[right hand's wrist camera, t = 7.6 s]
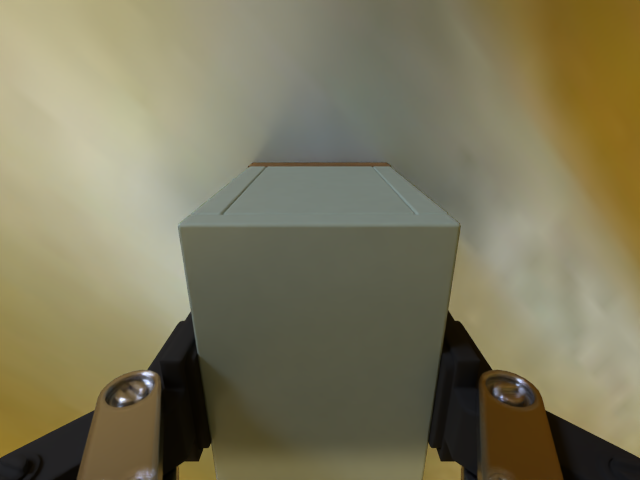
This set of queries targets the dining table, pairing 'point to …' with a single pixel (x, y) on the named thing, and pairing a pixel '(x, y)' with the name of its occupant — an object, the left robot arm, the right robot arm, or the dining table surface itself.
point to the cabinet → (319, 320)
